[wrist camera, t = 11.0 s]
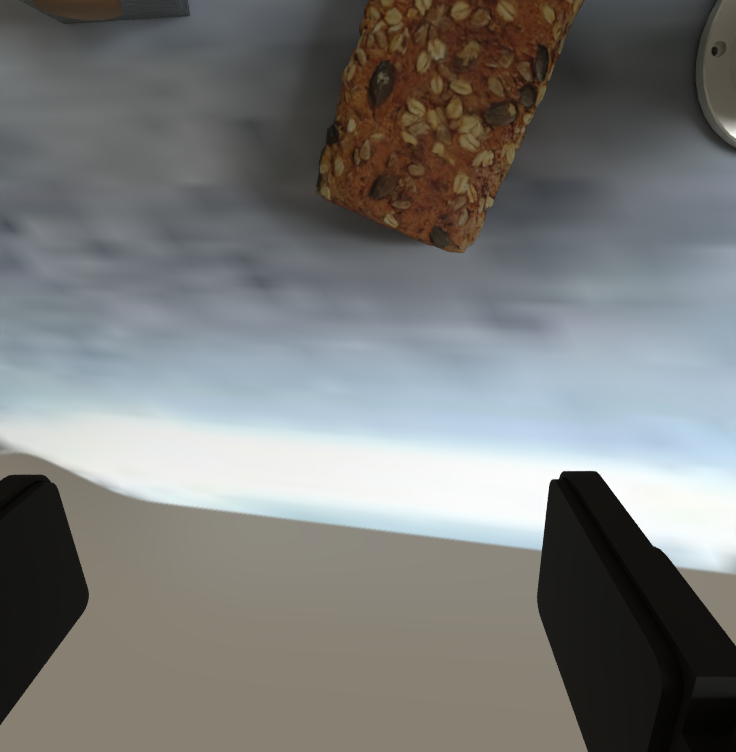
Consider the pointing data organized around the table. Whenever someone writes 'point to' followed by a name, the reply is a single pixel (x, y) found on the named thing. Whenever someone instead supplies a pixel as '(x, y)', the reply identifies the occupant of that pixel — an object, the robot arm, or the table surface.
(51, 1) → the brown cylinder
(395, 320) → the table surface
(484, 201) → the bread
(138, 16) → the saddle bracket
